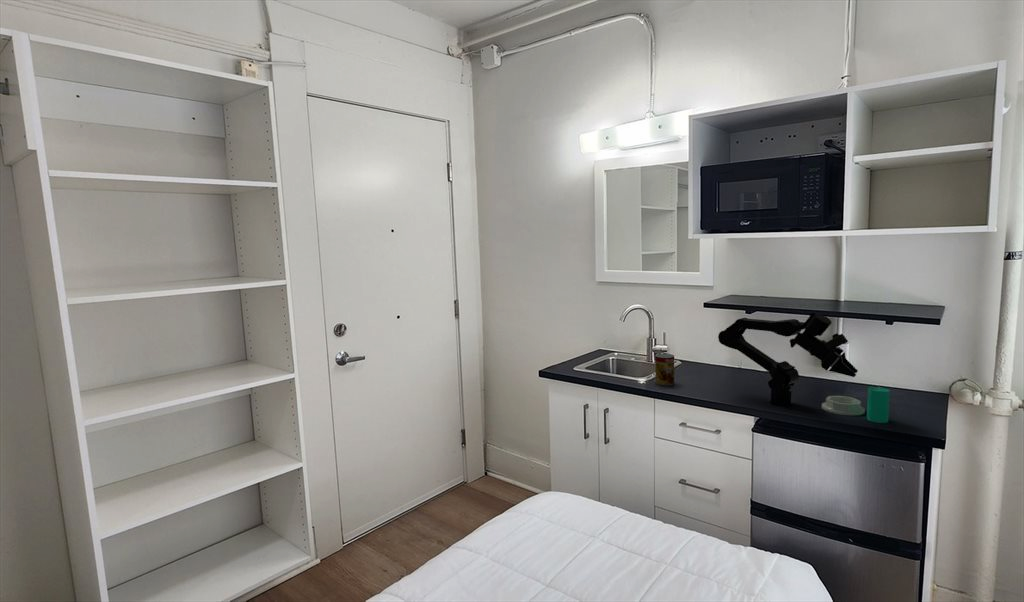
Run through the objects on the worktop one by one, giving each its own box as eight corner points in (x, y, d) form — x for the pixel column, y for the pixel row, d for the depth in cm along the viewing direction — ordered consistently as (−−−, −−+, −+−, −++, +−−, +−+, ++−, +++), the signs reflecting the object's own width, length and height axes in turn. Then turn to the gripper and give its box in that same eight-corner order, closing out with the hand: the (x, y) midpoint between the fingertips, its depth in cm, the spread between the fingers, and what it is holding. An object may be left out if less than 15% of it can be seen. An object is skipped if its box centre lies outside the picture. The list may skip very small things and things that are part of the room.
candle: (891, 423, 176) (893, 387, 174) (870, 422, 177) (872, 386, 176) (884, 417, 182) (886, 382, 180) (864, 416, 183) (865, 381, 182)
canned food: (671, 386, 227) (671, 358, 225) (652, 383, 231) (652, 356, 229) (676, 381, 233) (676, 354, 232) (658, 379, 237) (658, 352, 236)
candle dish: (817, 410, 190) (817, 401, 190) (826, 401, 200) (827, 392, 199) (860, 418, 181) (861, 408, 181) (868, 408, 191) (868, 398, 191)
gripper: (825, 329, 178) (871, 358, 171) (831, 325, 194) (874, 352, 186) (803, 355, 182) (847, 385, 175) (811, 349, 198) (851, 376, 190)
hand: (856, 374), depth 182 cm, fingers open, 9 cm apart
